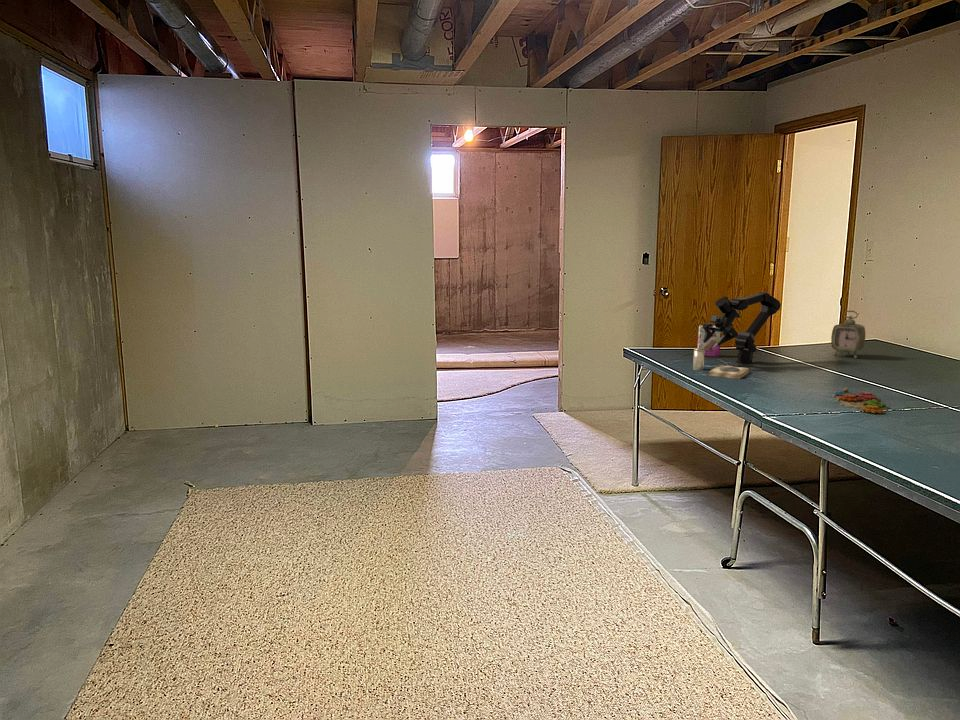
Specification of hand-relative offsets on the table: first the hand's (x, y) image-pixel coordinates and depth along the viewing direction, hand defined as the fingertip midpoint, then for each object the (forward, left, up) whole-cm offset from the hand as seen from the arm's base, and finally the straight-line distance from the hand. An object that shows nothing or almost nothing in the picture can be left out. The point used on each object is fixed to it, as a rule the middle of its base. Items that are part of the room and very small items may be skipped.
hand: (710, 343), depth 345 cm
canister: (+8, +3, -12) cm, 14 cm away
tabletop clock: (-88, -9, -12) cm, 89 cm away
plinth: (0, +17, -12) cm, 20 cm away
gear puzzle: (-18, +81, -13) cm, 84 cm away
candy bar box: (-17, -29, -12) cm, 35 cm away
